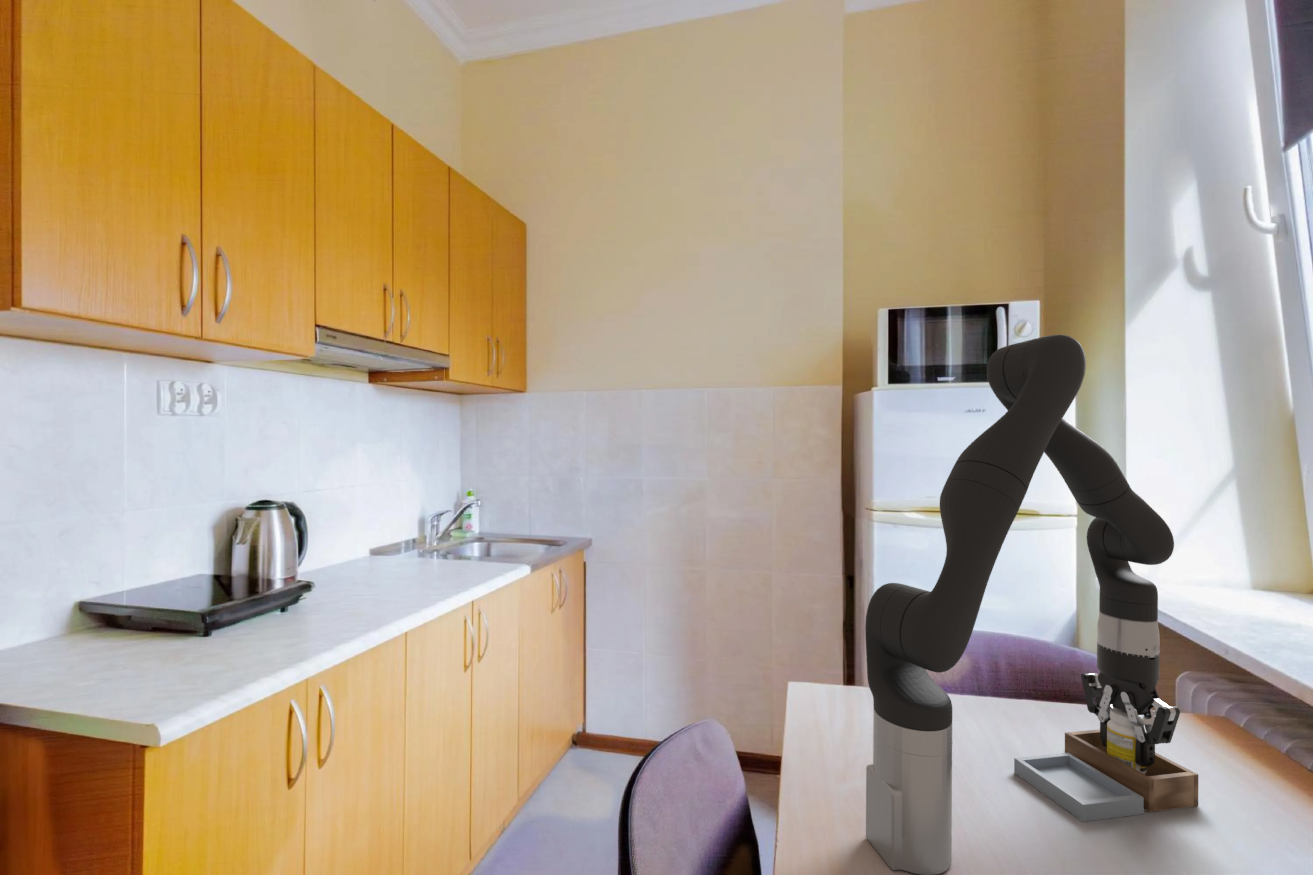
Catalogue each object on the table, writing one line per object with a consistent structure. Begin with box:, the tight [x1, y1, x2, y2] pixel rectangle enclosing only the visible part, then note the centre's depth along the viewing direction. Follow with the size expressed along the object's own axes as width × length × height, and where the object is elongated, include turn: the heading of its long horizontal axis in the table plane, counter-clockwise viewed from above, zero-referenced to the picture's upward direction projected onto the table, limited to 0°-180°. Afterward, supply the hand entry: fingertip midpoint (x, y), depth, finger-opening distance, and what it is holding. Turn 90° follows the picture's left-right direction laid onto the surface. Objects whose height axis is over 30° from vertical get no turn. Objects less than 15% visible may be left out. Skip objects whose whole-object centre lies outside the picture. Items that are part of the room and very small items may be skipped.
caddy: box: [1064, 728, 1199, 813], centre depth 89 cm, size 9×14×4 cm, turn 11°
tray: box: [1013, 752, 1144, 823], centre depth 86 cm, size 10×12×2 cm
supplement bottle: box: [1107, 708, 1147, 774], centre depth 89 cm, size 5×5×8 cm
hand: (1126, 755), depth 89 cm, fingers closed on supplement bottle, 4 cm apart
